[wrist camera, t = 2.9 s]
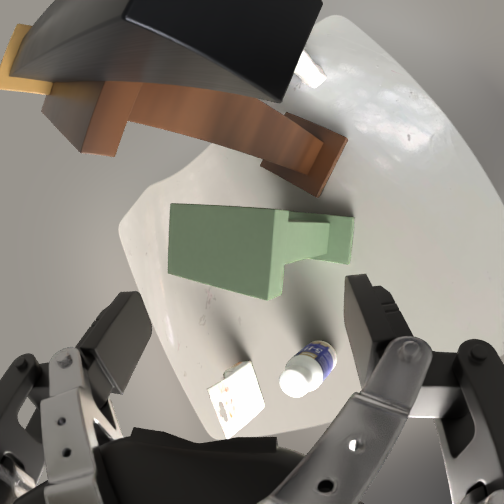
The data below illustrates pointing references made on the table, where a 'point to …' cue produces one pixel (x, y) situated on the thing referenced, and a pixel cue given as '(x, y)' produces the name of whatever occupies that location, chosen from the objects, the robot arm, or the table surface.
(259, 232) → the green piece
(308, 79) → the white faceted vase
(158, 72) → the bar
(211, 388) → the ink box
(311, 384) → the pill bottle
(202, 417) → the table surface
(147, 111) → the tall stand
